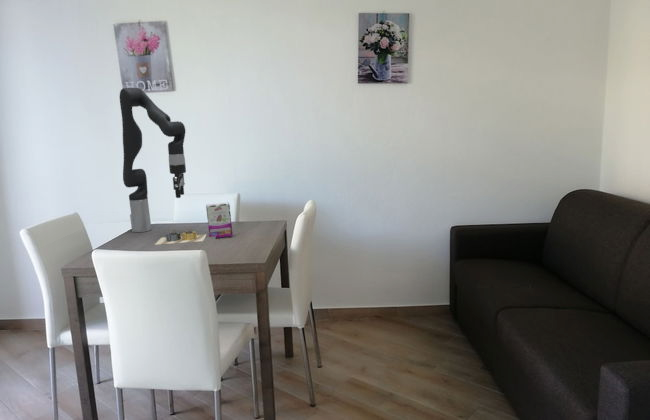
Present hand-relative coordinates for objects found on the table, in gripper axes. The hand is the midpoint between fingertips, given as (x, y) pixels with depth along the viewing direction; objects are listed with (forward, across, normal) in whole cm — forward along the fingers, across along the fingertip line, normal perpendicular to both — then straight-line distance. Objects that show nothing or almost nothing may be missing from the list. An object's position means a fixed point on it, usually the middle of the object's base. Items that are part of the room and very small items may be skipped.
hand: (180, 196), depth 230 cm
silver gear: (+19, +11, -2) cm, 22 cm away
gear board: (+20, +11, +1) cm, 23 cm away
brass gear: (+19, +11, +5) cm, 22 cm away
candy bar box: (+20, +7, +19) cm, 29 cm away
